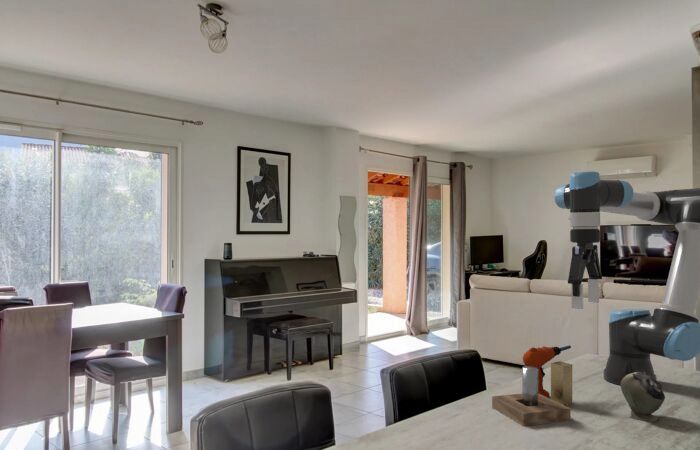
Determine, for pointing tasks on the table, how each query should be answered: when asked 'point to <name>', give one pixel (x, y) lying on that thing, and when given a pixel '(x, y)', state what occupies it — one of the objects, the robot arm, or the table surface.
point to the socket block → (531, 410)
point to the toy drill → (541, 362)
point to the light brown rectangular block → (561, 382)
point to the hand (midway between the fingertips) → (585, 305)
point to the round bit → (529, 386)
